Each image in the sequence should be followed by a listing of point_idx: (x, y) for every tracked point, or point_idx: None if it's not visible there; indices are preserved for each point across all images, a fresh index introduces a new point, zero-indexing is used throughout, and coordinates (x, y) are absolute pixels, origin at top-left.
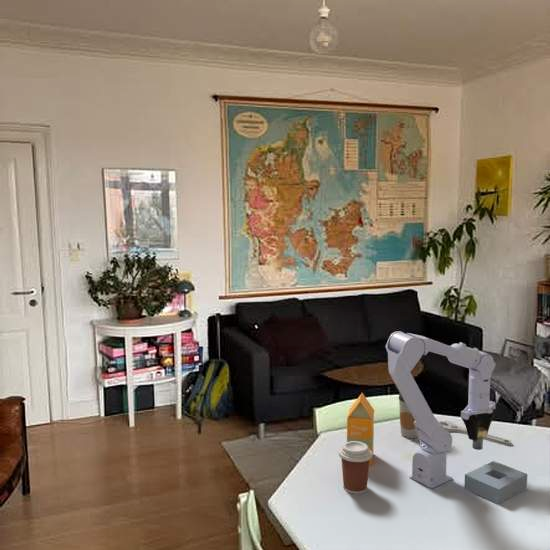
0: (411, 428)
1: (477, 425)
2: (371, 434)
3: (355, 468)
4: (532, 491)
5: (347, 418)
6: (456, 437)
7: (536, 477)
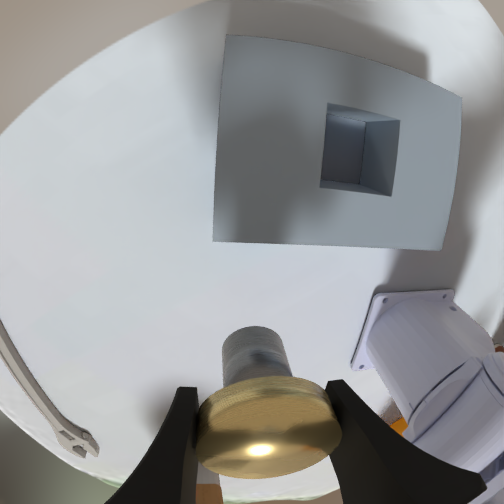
0: (212, 486)
1: (432, 468)
2: None
3: None
4: (236, 32)
5: None
6: (91, 417)
7: (94, 89)
